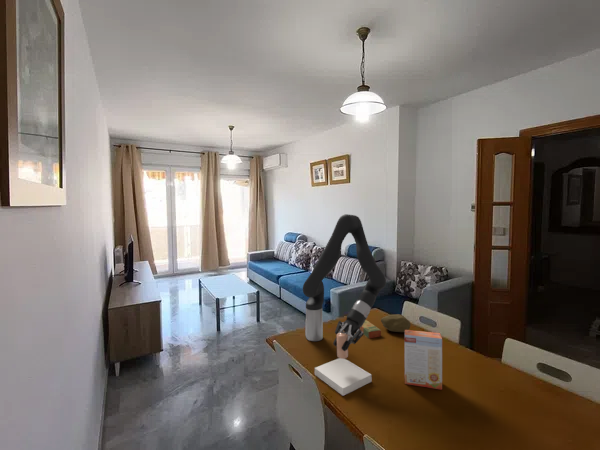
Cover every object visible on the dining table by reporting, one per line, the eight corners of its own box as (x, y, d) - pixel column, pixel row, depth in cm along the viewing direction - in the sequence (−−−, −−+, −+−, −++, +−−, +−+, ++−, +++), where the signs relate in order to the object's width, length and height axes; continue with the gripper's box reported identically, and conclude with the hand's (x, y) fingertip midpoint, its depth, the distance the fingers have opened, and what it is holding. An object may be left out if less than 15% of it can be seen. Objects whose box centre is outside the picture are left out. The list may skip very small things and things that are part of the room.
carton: (366, 326, 181) (366, 319, 180) (381, 337, 166) (381, 329, 165) (354, 328, 178) (354, 321, 178) (368, 339, 163) (368, 331, 163)
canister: (334, 355, 126) (334, 334, 125) (342, 352, 128) (342, 331, 128) (342, 359, 122) (341, 338, 121) (350, 356, 124) (349, 335, 124)
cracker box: (440, 382, 122) (440, 332, 120) (442, 390, 116) (442, 338, 115) (404, 376, 126) (404, 328, 125) (404, 384, 120) (404, 334, 119)
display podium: (314, 374, 128) (314, 367, 128) (341, 363, 137) (341, 356, 137) (343, 395, 114) (342, 388, 113) (371, 381, 123) (371, 374, 122)
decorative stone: (377, 331, 172) (377, 314, 171) (383, 325, 181) (383, 309, 181) (407, 338, 162) (407, 320, 162) (412, 331, 172) (412, 314, 171)
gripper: (343, 304, 134) (323, 337, 128) (366, 313, 122) (345, 349, 116) (351, 313, 137) (332, 345, 131) (375, 322, 125) (355, 358, 119)
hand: (339, 347), depth 124 cm, fingers closed on canister, 4 cm apart
